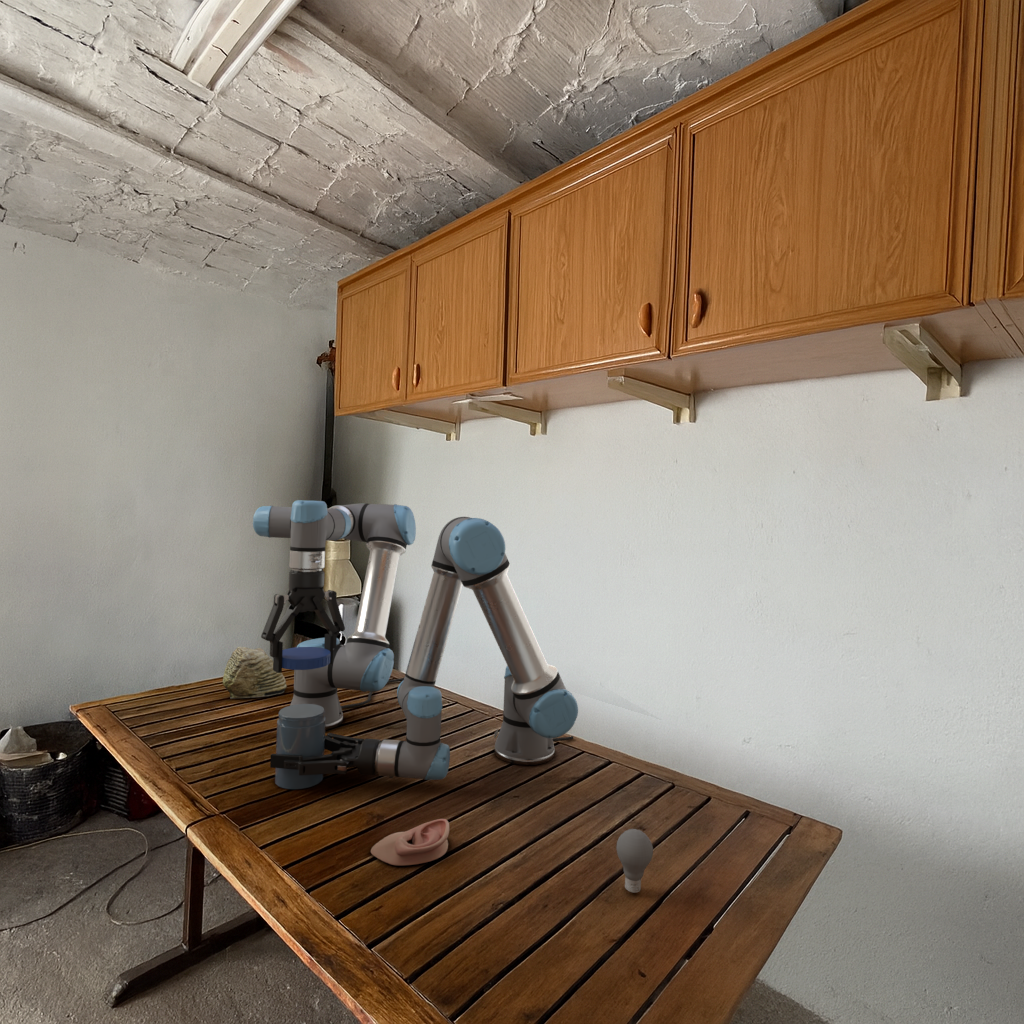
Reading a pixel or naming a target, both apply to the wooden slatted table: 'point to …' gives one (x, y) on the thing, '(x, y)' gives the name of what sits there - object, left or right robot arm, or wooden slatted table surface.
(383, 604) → the left robot arm
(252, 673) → the fossil
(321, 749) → the jar
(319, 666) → the lid
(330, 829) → the wooden slatted table surface
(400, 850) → the anatomical model
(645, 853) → the light bulb
